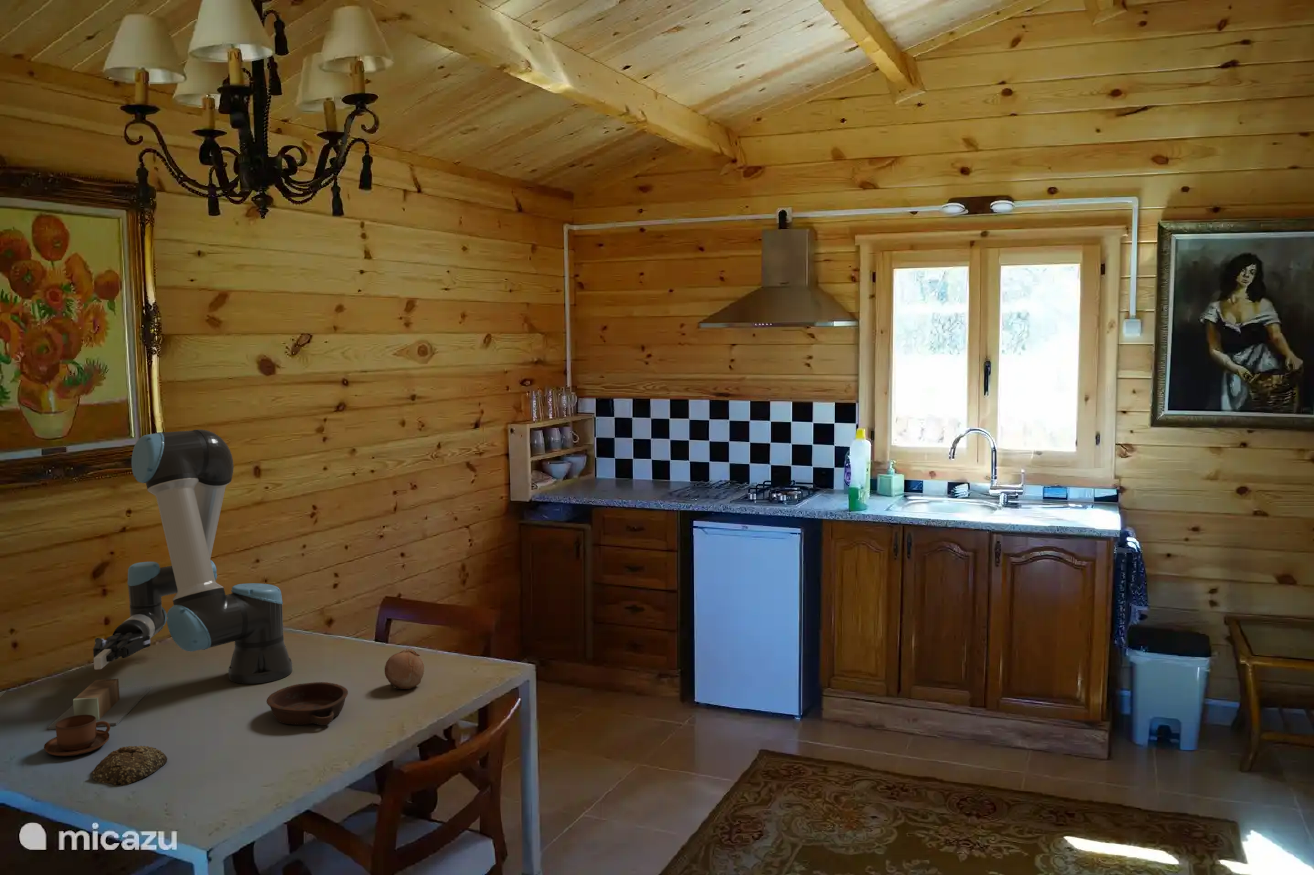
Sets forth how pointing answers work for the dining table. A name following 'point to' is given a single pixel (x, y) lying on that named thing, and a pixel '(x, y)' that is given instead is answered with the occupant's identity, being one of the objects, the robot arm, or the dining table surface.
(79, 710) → the walnut block
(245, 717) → the dining table surface
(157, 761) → the bread roll
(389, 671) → the onion
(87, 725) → the cup and saucer
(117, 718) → the rubber mat
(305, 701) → the dish
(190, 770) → the dining table surface
